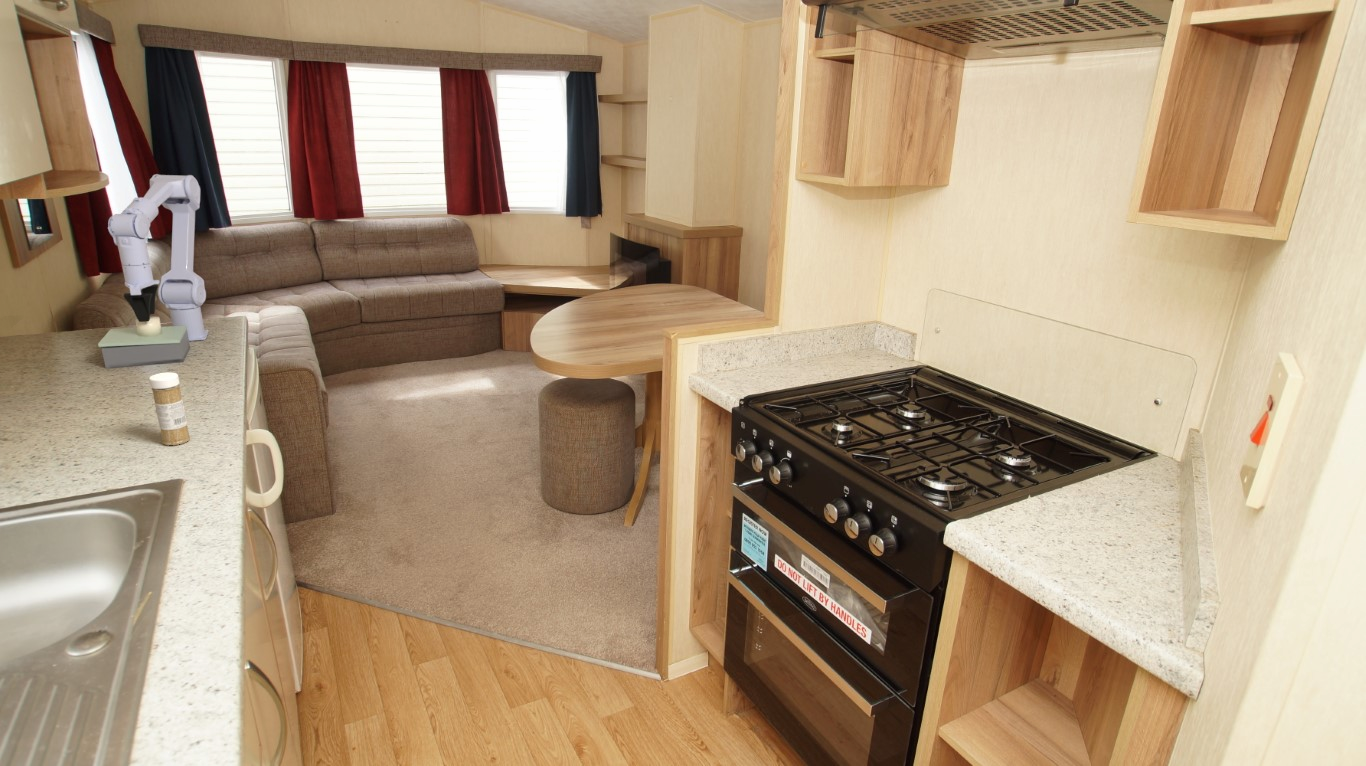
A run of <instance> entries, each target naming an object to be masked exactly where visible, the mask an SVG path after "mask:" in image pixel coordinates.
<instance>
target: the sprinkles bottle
mask: <svg viewBox="0 0 1366 766" xmlns="http://www.w3.org/2000/svg"><path fill="white" fill-rule="evenodd" d="M148 381H149V386H150V389H151V391H152V395H153V400H154V406H155V411H156V416H157V421H158V427H159V429H160V433H161V438H162V441H161V442H162V444H163V445H165V446H169V445H173V446H179V444H180V445H184V444H185V443H187V441H188V442H189V441H190V440H191V436H190V434H189V429H188V422H187V417H186V411H185V406H184V401H183V398H182V394H181V393H182V392H181V388H180V377H179V374H178V373H176V372H170V371H169V372H167V371H166V372H161V373H155V374H153V375H151V376H149V378H148ZM183 443H184V444H183Z"/></svg>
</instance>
